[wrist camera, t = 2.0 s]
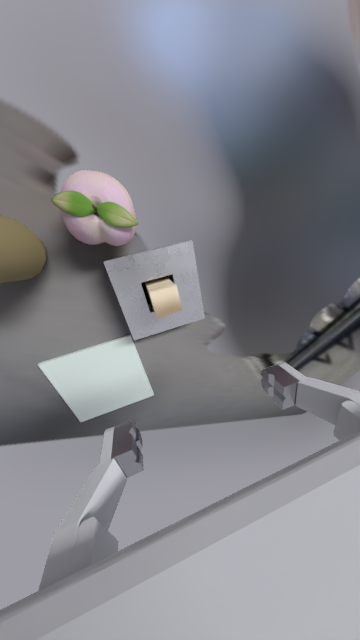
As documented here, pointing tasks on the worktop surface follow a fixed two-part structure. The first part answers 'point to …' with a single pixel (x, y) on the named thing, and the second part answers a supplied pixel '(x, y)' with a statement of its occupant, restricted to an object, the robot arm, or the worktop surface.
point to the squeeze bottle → (19, 251)
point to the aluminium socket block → (153, 265)
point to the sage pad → (99, 378)
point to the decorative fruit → (96, 208)
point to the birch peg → (163, 296)
